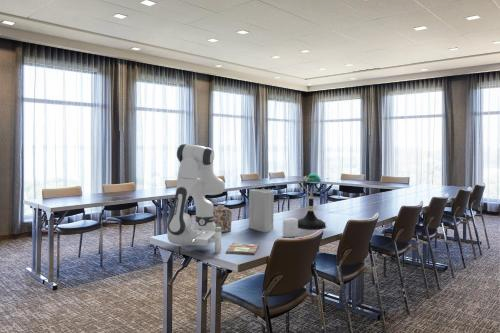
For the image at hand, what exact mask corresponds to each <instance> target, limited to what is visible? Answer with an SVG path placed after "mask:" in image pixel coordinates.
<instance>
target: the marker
mask: <svg viewBox="0 0 500 333" xmlns="http://www.w3.org/2000/svg"><path fill="white" fill-rule="evenodd" d="M215 238H218V239H219V241H218V242H214V253H215V254H220V253H222V232H221V227H215Z"/></svg>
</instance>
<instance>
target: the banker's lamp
mask: <svg viewBox="0 0 500 333" xmlns="http://www.w3.org/2000/svg"><path fill="white" fill-rule="evenodd" d="M305 180H306V182H307V183H322V178H321V177H320V175H318V173H316V172H311V173H309V175H305V176H304V177H303V179H302V180H301V181H300V185H301V187H303V188H304V189H305V190H306V191H307V192H308V194H309V196H308V209H307V212H306V214H305V215H304V217H302V218H299V219H297V220H298V229H303V230H304V229H305V230H322V228H323V229H325V228H326V227H327V226H326V221H323V220H322V219H319V218H318V217H317V216H316V215H315V212H314V209H313V208H314V196H313V193H312V192H310V191H309V190H308V189H307V187H305V186H304V185H303V182H304V181H305Z"/></svg>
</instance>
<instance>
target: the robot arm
mask: <svg viewBox="0 0 500 333" xmlns="http://www.w3.org/2000/svg"><path fill="white" fill-rule="evenodd" d="M176 157H177V160H178V161H179V162H180V163H179V164H180V165H179V168H178V172H177V173H178V174H177V179H176V189H175V196H174V200H173V207H172V211H171V216H170V217H169V219H168V221H167V224H166V225H167V226H166V227H167V240H168V242H169V243H170V244H174V245H181V246H184V245H187V246H195V247H196V246H197V247H198V246H201V247H206V246H209V245H210V243H215V242H218V241H219V239H218V238H215V227H216V224H215V222H214V215H213V208H214V203H213V202H212V201H210V200H208V199H206V197H205V195H206V196H207V195H209V196H216V195H220V194H223V192H224V191H225V189H226V185H225V182H224V180H223V179H221V178H220V177H218V176H217V175H216V174H215V172H214V170H213V167H212V166H213V164H212V163H213V162H214V160H215V152H214V150H213V149H212V148H210V147H208V146H207V147H206V146H203V145H198V144H195V145H194V144H187V143H185V144H180V145H179V146H178V147H177V150H176ZM190 196H191V197H192V199H193V200H194V203H195V217H194V218H195V222H194V223H193V225H192V216H191V215H190V214H188V213H187V212H185V208H186V203H187V201H188V198H190ZM191 226H192V228H191Z"/></svg>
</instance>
